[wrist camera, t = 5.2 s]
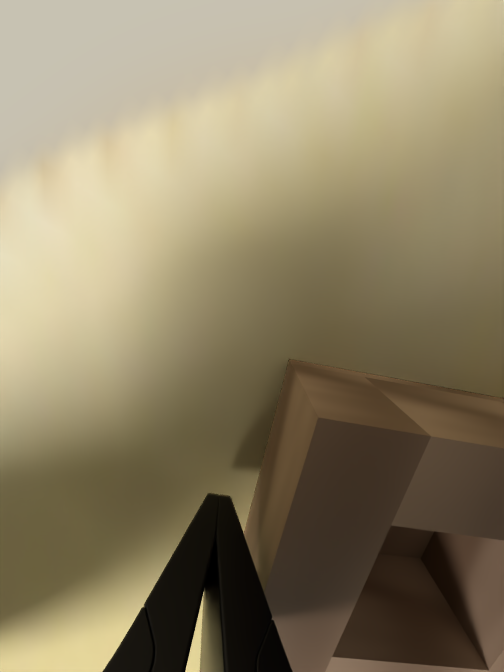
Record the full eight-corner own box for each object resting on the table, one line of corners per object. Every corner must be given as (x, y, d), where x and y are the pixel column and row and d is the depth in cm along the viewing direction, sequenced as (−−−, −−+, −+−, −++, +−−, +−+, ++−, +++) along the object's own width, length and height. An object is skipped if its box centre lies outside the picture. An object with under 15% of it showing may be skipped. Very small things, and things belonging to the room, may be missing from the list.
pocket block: (235, 554, 11) (230, 701, 7) (286, 353, 9) (318, 417, 5) (434, 577, 12) (523, 721, 8) (532, 399, 10) (722, 484, 6)
